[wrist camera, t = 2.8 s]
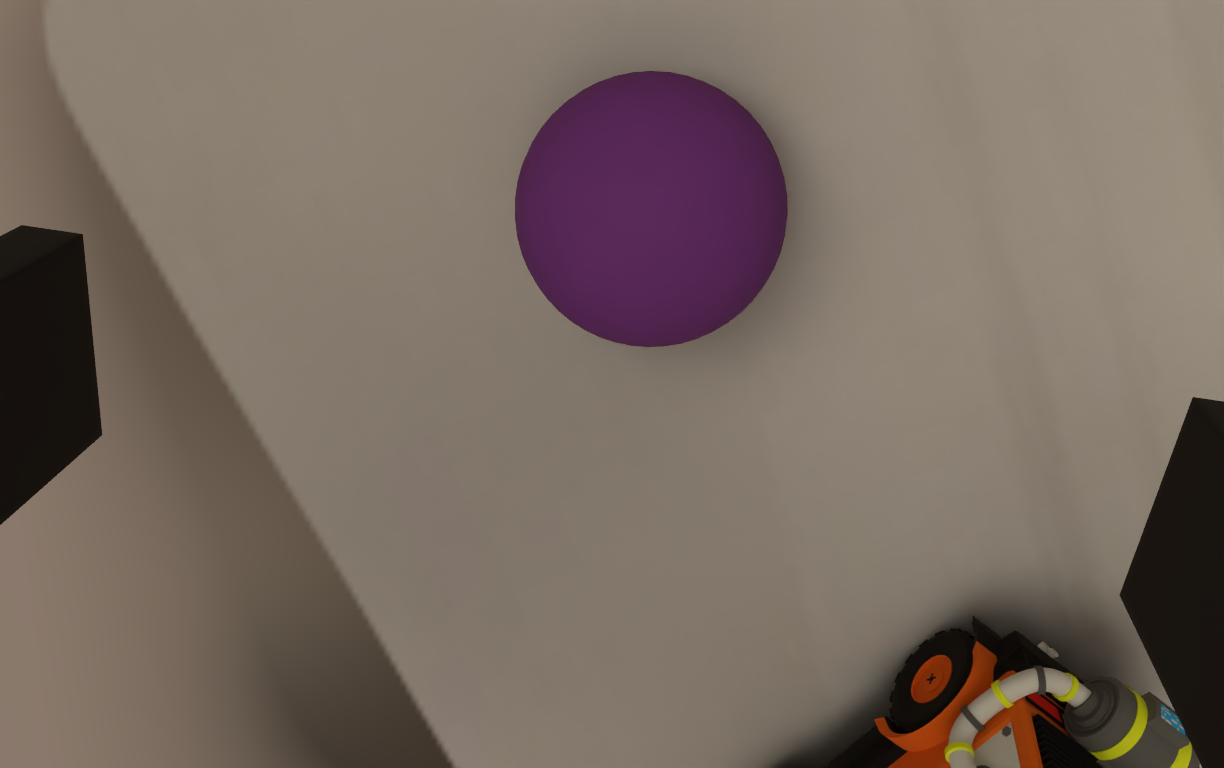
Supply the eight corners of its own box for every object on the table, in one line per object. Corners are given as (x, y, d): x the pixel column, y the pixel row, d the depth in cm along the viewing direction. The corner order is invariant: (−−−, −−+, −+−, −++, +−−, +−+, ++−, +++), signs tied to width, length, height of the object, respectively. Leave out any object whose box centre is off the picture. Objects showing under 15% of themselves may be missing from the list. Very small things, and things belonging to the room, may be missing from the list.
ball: (530, 273, 25) (481, 369, 20) (550, 34, 22) (499, 82, 18) (761, 306, 24) (764, 411, 20) (804, 68, 22) (817, 124, 18)
